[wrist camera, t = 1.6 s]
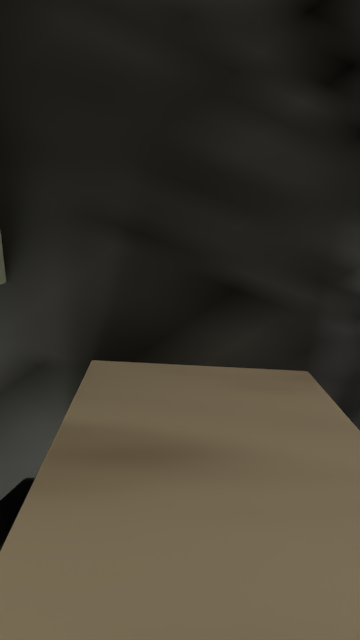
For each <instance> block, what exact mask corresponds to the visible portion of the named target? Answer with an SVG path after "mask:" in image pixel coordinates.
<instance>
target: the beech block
mask: <svg viewBox="0 0 360 640" xmlns="http://www.w3.org/2000/svg"><path fill="white" fill-rule="evenodd" d="M0 640H360V431H359V429H358V428H357V427H356V426H355V425H354V424H353V423H352V421H351V420H350V419H349V418H348V417H347V416H346V415H345V413H344V412H343V411H342V410H341V409H340V408H339V407H338V405H337V404H336V403H335V402H334V401H333V400H332V398H331V397H330V396H329V395H328V394H327V393H326V392H325V390H324V389H323V388H322V387H321V386H320V385H319V384H318V382H317V381H316V380H315V379H314V378H313V377H312V376H311V374H310V373H309V372H308V371H293V370H274V369H254V368H235V367H215V366H195V365H176V364H156V363H136V362H117V361H97V360H92V361H91V363H90V365H89V367H88V369H87V372H86V374H85V376H84V378H83V380H82V382H81V384H80V386H79V388H78V390H77V392H76V394H75V397H74V399H73V401H72V403H71V405H70V407H69V409H68V411H67V413H66V415H65V417H64V420H63V422H62V424H61V426H60V428H59V430H58V432H57V434H56V436H55V438H54V440H53V442H52V445H51V447H50V449H49V451H48V453H47V455H46V457H45V459H44V461H43V463H42V465H41V467H40V470H39V472H38V474H37V476H36V478H35V480H34V482H33V484H32V486H31V488H30V490H29V493H28V495H27V497H26V499H25V501H24V503H23V505H22V507H21V509H20V511H19V513H18V515H17V518H16V520H15V522H14V524H13V526H12V528H11V530H10V532H9V534H8V536H7V538H6V541H5V543H4V545H3V547H2V549H1V551H0Z"/></svg>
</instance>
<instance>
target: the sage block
mask: <svg viewBox="0 0 360 640" xmlns="http://www.w3.org/2000/svg"><path fill="white" fill-rule="evenodd" d="M5 282H6V275H5V266H4V257H3V249H2V240H1V231H0V285H1V284H3V283H5Z"/></svg>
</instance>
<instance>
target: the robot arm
mask: <svg viewBox="0 0 360 640" xmlns="http://www.w3.org/2000/svg"><path fill="white" fill-rule="evenodd" d="M34 480H35V478H25V479H24V480H22V481H21V482H20V483H19V484H18V485H17V486H16V487H15V488H14V489H12V490H11V491H10V492H9V493H8V494H7V495H6V496H5V497H4V498H3V499H1V500H0V551H1V549H2V547H3V545H4V543H5V541H6V538H7V536H8V534H9V532H10V530H11V528H12V526H13V524H14V522H15V520H16V518H17V515H18V513H19V511H20V509H21V507H22V505H23V503H24V501H25V499H26V497H27V495H28V493H29V490H30V488H31V486H32V484H33V482H34Z"/></svg>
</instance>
